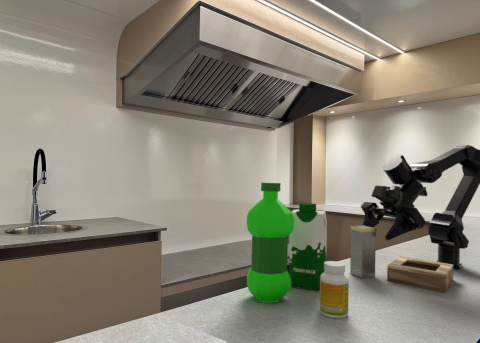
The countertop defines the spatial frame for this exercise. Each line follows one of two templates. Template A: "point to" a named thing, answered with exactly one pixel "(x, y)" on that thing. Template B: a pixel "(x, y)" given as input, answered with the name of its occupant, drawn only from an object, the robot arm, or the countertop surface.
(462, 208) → the robot arm
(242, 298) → the countertop surface
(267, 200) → the plastic bottle
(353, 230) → the tea canister
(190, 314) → the countertop surface
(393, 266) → the caddy
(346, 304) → the supplement bottle
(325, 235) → the milk carton
